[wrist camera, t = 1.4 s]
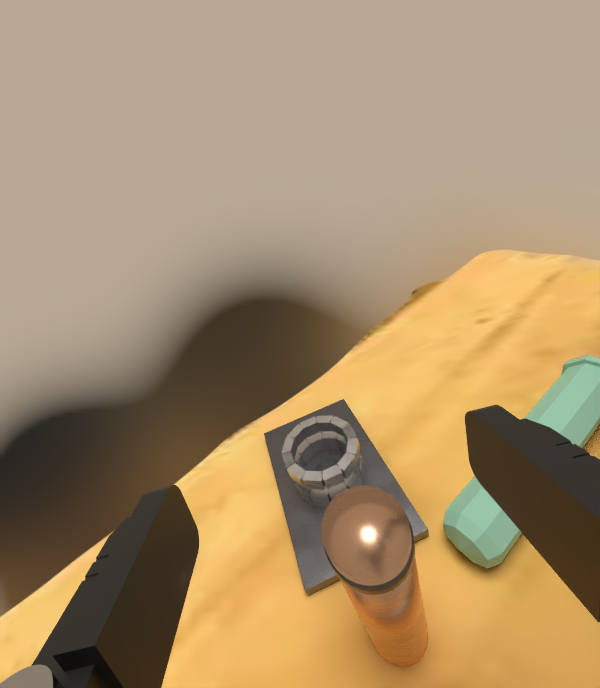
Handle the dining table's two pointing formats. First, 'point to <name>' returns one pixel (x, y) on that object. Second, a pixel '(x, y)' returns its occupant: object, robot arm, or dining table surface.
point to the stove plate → (326, 481)
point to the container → (553, 411)
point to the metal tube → (378, 569)
